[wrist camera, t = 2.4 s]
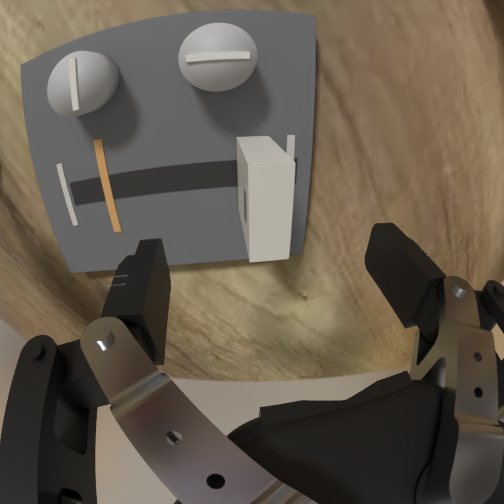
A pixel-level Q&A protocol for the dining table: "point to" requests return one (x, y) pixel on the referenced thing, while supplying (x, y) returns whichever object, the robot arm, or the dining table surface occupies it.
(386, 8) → the dining table surface
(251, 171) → the block
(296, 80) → the console
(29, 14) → the dining table surface
